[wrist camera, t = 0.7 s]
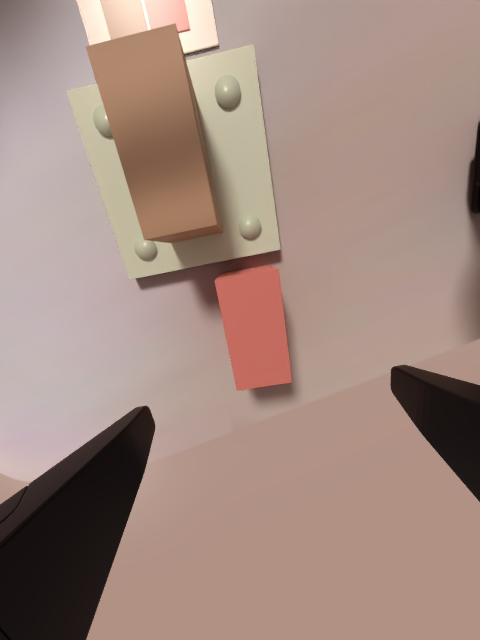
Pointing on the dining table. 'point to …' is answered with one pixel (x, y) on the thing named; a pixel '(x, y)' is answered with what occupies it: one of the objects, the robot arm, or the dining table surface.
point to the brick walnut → (158, 133)
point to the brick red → (254, 326)
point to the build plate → (225, 162)
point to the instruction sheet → (150, 20)
